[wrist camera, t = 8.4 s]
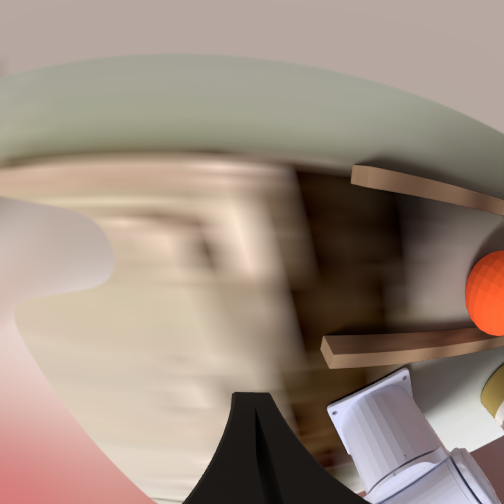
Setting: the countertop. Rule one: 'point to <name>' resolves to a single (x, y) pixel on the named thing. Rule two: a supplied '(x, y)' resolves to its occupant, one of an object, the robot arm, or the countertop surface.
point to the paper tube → (495, 396)
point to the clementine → (487, 293)
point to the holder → (418, 343)
